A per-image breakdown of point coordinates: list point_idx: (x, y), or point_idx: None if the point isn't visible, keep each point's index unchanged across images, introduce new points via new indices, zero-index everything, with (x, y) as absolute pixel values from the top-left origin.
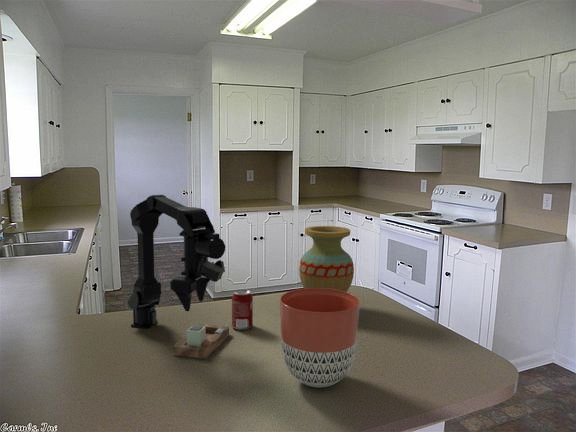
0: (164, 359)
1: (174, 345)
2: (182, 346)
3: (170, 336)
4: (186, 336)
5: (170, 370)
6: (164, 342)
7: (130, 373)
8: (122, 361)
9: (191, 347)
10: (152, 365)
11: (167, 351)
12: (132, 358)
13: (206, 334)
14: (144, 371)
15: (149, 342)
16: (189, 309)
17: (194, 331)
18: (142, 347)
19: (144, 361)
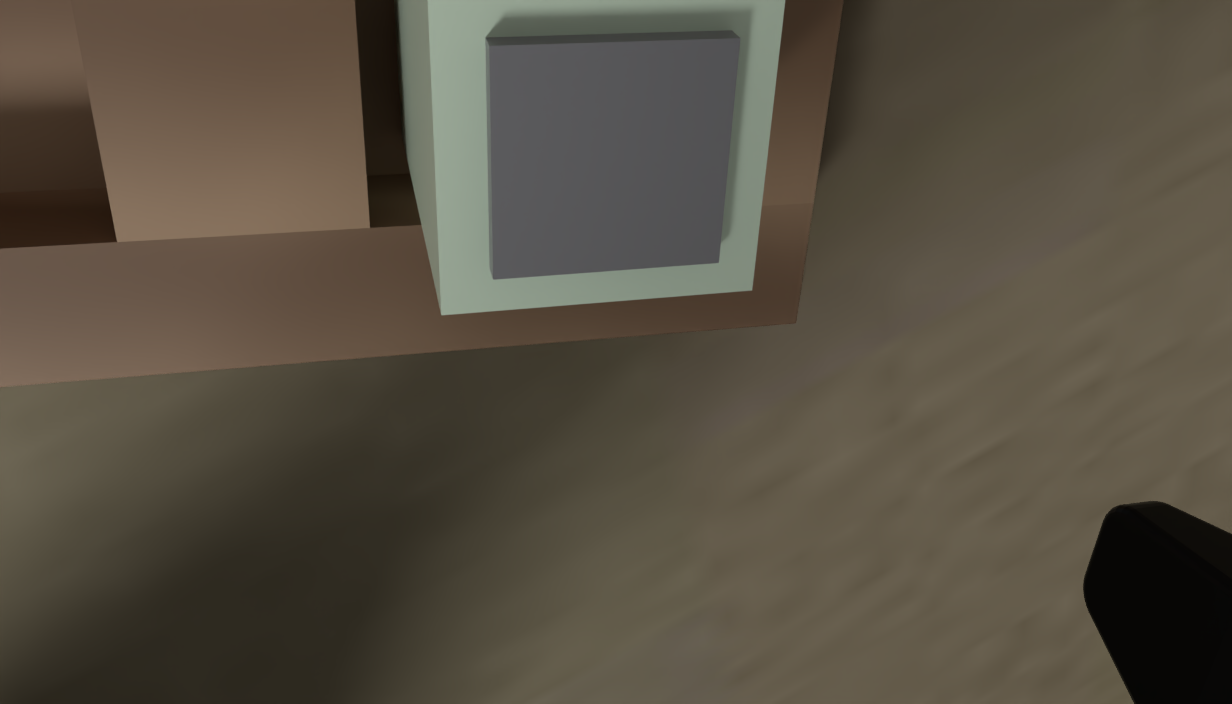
0: (892, 292)
1: (758, 322)
2: (778, 191)
3: (152, 604)
4: (356, 331)
5: (1195, 62)
6: (384, 560)
7: (1226, 428)
8: (966, 636)
9: (800, 24)
10: (1055, 333)
11: (653, 382)
12: (893, 602)
13: (101, 12)
14: (1195, 331)
15: (445, 697)
16: (1173, 526)
17: (770, 115)
18: (604, 677)
19: (957, 463)
